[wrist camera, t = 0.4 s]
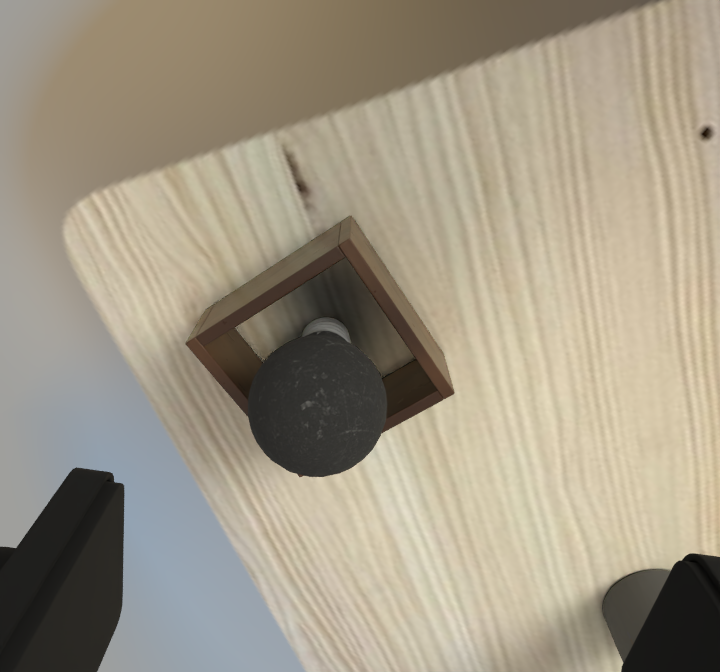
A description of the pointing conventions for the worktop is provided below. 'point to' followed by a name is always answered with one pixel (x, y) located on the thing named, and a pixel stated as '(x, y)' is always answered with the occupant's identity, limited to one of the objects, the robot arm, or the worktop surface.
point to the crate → (216, 327)
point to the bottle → (631, 606)
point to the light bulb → (317, 402)
